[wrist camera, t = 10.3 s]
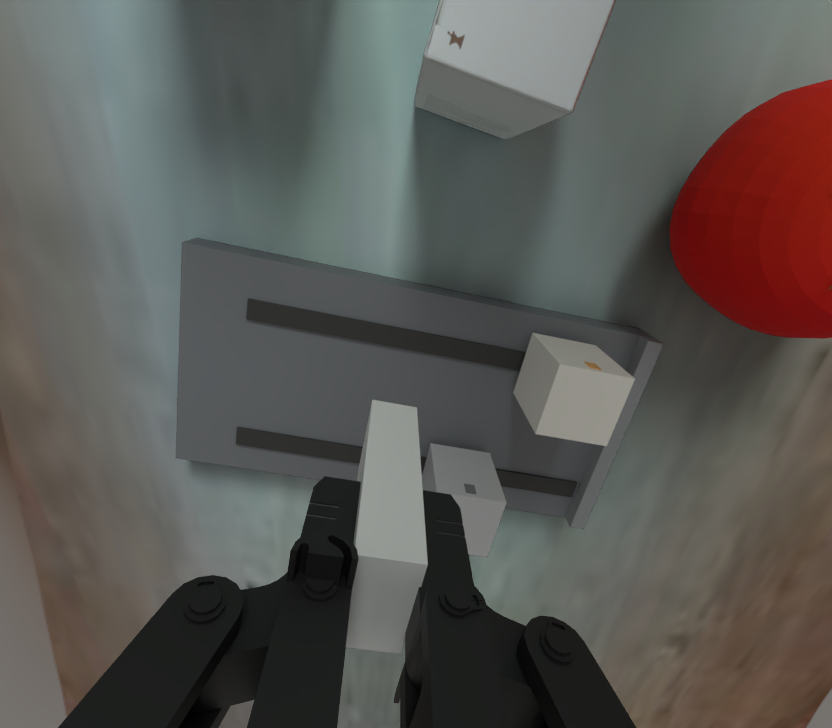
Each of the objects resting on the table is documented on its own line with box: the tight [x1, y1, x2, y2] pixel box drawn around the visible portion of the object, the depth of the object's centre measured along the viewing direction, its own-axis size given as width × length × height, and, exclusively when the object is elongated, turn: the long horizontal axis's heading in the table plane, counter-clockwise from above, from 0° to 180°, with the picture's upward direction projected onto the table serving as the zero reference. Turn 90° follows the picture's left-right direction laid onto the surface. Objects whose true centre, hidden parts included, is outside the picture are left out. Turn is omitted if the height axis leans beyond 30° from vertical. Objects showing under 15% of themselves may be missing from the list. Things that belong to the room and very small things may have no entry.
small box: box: [414, 0, 616, 140], centre depth 19 cm, size 8×6×10 cm
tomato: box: [669, 80, 832, 338], centre depth 23 cm, size 11×12×10 cm
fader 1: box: [422, 443, 507, 557], centre depth 29 cm, size 4×4×5 cm
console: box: [176, 238, 664, 529], centre depth 30 cm, size 14×28×3 cm, turn 78°
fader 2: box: [513, 333, 635, 446], centre depth 26 cm, size 4×4×5 cm
